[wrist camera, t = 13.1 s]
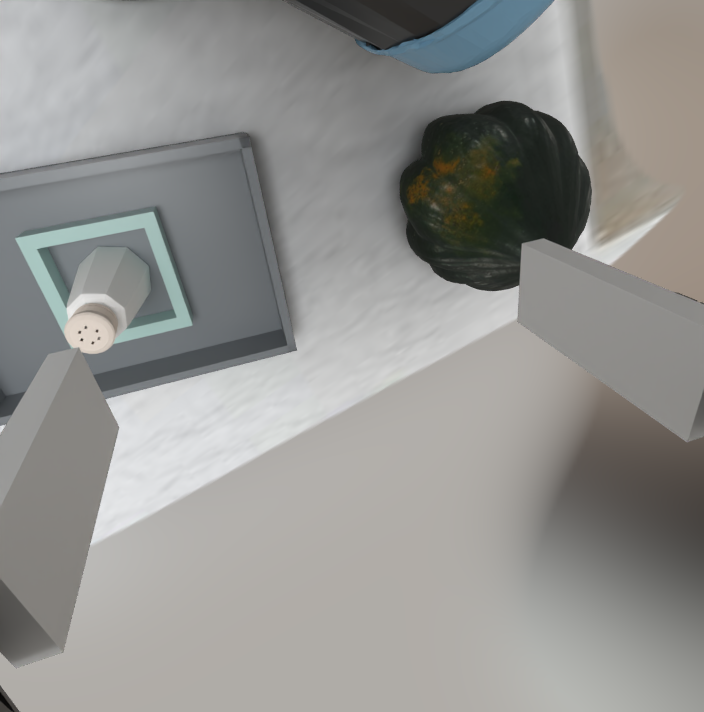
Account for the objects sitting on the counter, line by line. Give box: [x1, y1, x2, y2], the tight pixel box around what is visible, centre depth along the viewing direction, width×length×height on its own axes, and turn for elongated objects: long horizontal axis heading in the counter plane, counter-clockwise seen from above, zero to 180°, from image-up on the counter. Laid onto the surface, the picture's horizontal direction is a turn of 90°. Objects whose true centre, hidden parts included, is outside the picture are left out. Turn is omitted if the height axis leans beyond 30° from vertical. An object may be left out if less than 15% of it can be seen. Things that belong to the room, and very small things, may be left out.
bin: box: [0, 132, 297, 426], centre depth 37 cm, size 17×25×4 cm
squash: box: [400, 101, 592, 291], centre depth 38 cm, size 14×15×15 cm
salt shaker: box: [64, 247, 151, 354], centre depth 33 cm, size 5×5×11 cm
